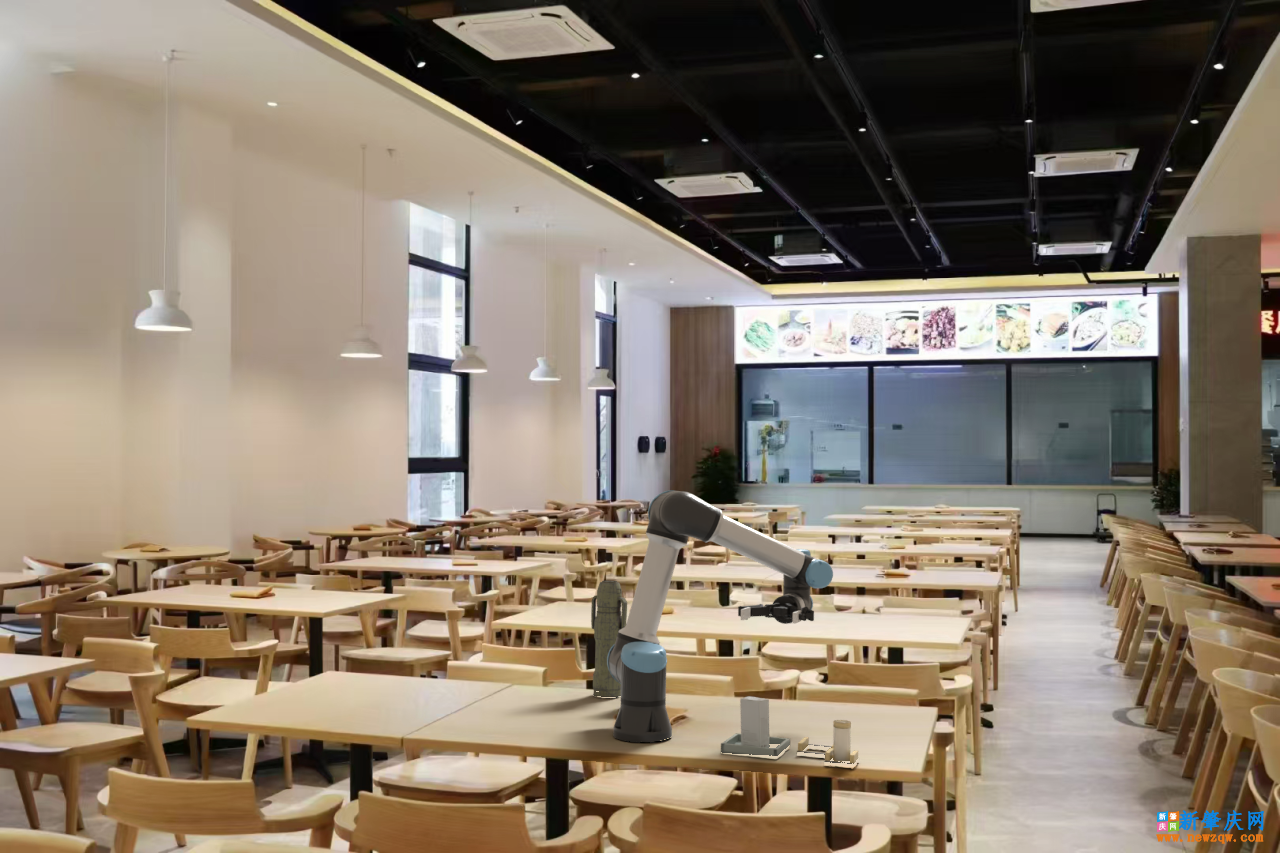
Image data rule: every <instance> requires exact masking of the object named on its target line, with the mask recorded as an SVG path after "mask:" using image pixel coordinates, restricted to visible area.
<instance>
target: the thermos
mask: <svg viewBox="0 0 1280 853" xmlns="http://www.w3.org/2000/svg"><path fill="white" fill-rule="evenodd" d="M622 592H623V591H622V587H621V584H620V582H618V581H617V580H602V581H600V582H599V584H598V586H597V591H596V595H593V597H592V599H591V611H590V612H591V615H590V616H591V617H590V618H591V619H590V622H591V630H593V631H594V632H593V638H594V641H595V652H594V653H595V657H594V671H593V674H592V689H593V694H592V696H593V695H594V696H601V697H618V696H621V684H620V683H619V682H617V681H616V680H615V679H614V678H613V677H612V675H611V674H610V671H609V669H608V665H607V657H608V653H609V651H610V649H611V647H612V646H613V645H614V644H615V642H616V639H617V635H618V632H619V630H621V629H622V628H624V627H625V626H626V624H627V620H628V601H627V599H626V597H623V596H622ZM596 691H599V692H596ZM594 696H593V697H594Z"/></svg>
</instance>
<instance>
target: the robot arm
mask: <svg viewBox="0 0 1280 853" xmlns="http://www.w3.org/2000/svg"><path fill="white" fill-rule="evenodd" d="M647 518H648V524H647V528H646V531H645V536H646V537H647V539H648V544H647V545H648V546H647V548H646V552H645V556H644V558H643V563H642V567H641V569H640V574H639V577H638V580H637V584H636V589H635V591H634V595H633V599H632V603H631V605H630V606H631V607H630V610H629V614H628V615H627V619H626V626H625V627H624V628H622V629H621V630H619V632H618V635H617V639H616V642H615V644H614V645H613V646H612V647H611V649H610V651H609V653H608V657H607V665H608V669H609V671H610V674H611V675H612V677H613V678H614V679H615V680H616V681H617V682H619V683H620V684H621V697H620V707H619V710H618V713H617V716H616V719H615V722H614V724H613V732H612V736H613V738H614V739H616V740H619V741H624V742H629V741H630V742H629V743H640V742H650V743H654V742H653V741H660V740H664V739H667V738H670V737H671V736H672V737H673V728H672V724H671V721H670V718H669V715H668V711H667V707H666V702H667V701H666V698H667V697H666V696H667V695H666V694H667V664H668V658H667V651H666V649H665V647H664V646H662V645H660V643H661V642H660V640H659V638H658V637H657V633H658V629H659V626H660V622H661V618H662V614H663V610H664V607H665V604H666V600H667V596H668V593H669V590H670V585H671V582H672V578H673V574H674V571H675V568H676V563H677V560H678V555H679V553H680V550H681V549H682V548H684V547H686V546H687V544H688V540H689V537H690V538H694V539H696V540H699V541H702V542H704V543H708V542H713V543H715V544H717V545H720V546H721V547H723V548H725V549H728V550H730V551H732V552H733V553H734V552H735V553H736V554H739V555H740V556H743V557H745V558H748V559H750V560H752V561H754V562H755V563H758V564H760V565H763V566H764V567H767V568H770V569H771V570H773V571H776V572H778V573H781V574H783V578H782V579H783V584H782V585H783V587H782V589H783V591H782V595H780V596H778V597H776V599H774V601H773V602H772V603H769V604H765V605H764V604H763V603H759V604H754V605H753V604H752V605H739V606H737V608H738V610H737V613H738V614H737V616H738V617H740V621H745V620H746V621H747V620H748V619H750V618H752V617H754V618H755V617H765V618H769V619H770V618H771V619H772V618H774V620H776V621H777V622H778V623H780V624H783V625H785V624H786V625H789V624H797V623H800V622H802V621H804V622H805V621H806V622H807V621H810V622H815V611H814V610H813V607H814V601H813V598H812V596H811V588H813V589H823V588H826V587H828V586H829V585H830V584H831V582H832V580H833V577H834V571H833V567H832V566H831V565H830V564H829V562H827V561H825V560H823V559H821V558H820V559H819V558H815V557H814V556H812V555H811V551H810V550H809V549H804V548H794V547H792V546H790V545H788V544H786V543H783V542H782V541H779V540H777V539H775V538H773V537H770V536H769V535H766V534H765V533H762V532H760V531H758V530H756V529H753V528H752V527H749V526H747V525H745V524H743V523H741V522H739V521H737V520H734V519H733V518H731V517H729V516H726V515H724V513H723V511H722V509H720V508H718V507H716V506H714V505H712V504H710V503H708V502H707V501H705V500H703V499H702V498H700V497H698V496H697V495H695V494H693V493H691V492H688V491H683V490H682V491H679V490H673V489H672V490H666V491H663V492H661V493H659V494H656V496H654V498H653V499H652V500H651V502H650V503H649V507H648V510H647Z"/></svg>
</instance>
